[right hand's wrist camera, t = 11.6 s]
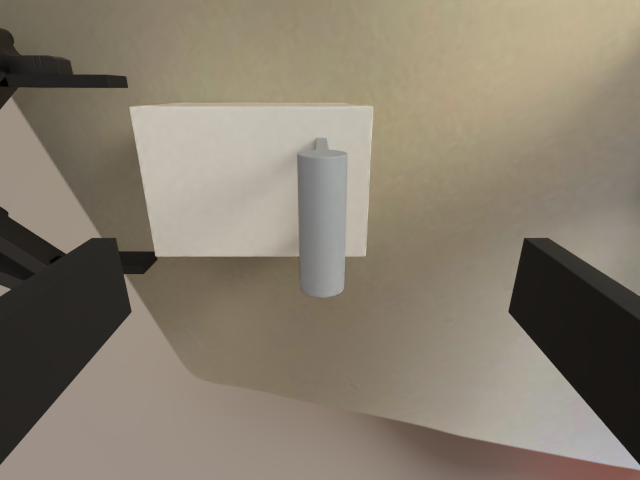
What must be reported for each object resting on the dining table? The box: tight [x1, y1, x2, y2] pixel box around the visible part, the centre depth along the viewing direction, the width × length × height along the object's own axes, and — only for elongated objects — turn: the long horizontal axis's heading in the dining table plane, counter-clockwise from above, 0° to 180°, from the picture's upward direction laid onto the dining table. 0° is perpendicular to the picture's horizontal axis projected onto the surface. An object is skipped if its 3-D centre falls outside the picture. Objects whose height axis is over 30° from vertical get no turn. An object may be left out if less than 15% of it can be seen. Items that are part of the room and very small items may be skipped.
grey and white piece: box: [129, 106, 373, 298], centre depth 21 cm, size 15×10×10 cm
